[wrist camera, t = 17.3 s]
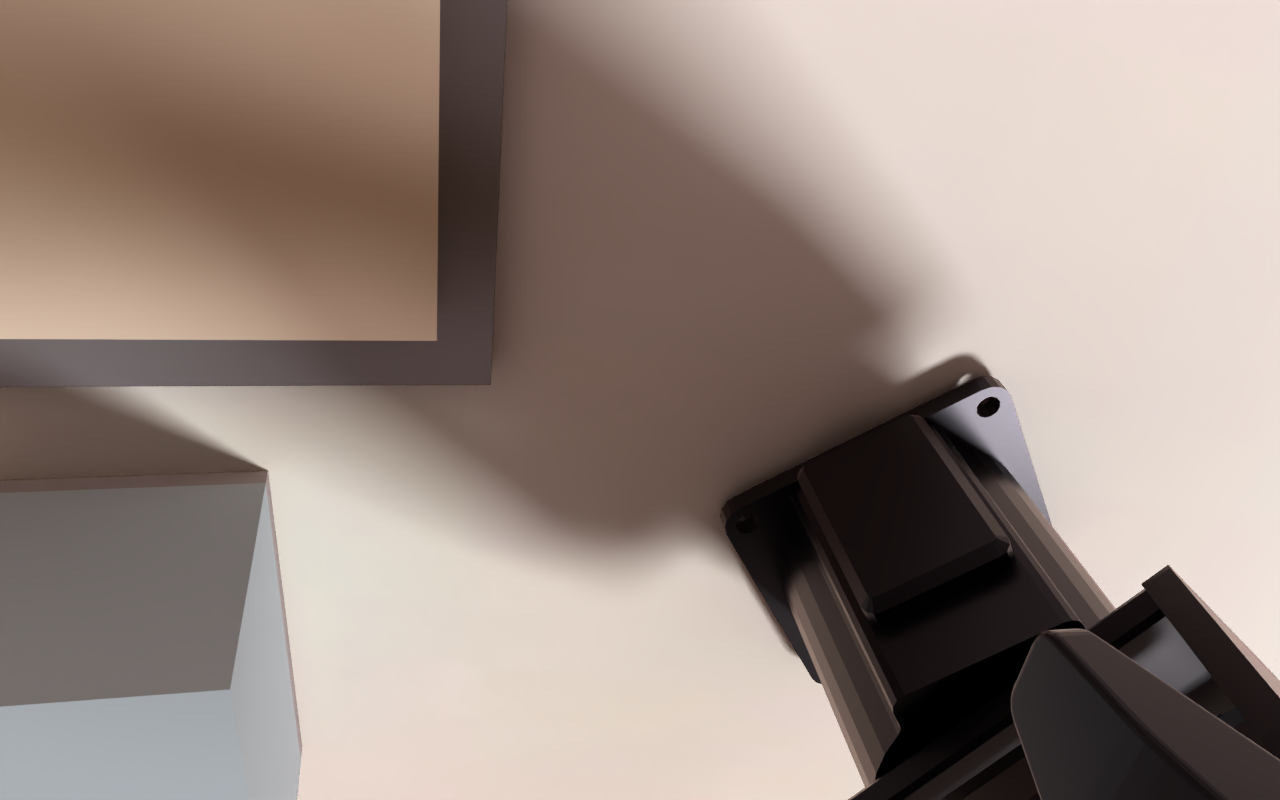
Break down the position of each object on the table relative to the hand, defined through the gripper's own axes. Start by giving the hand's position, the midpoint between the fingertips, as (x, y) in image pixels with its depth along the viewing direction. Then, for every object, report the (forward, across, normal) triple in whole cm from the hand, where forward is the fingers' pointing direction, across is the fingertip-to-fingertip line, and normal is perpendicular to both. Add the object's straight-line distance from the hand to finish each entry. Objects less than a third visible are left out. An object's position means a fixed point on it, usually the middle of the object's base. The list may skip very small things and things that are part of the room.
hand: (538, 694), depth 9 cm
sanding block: (+11, +6, +10) cm, 16 cm away
